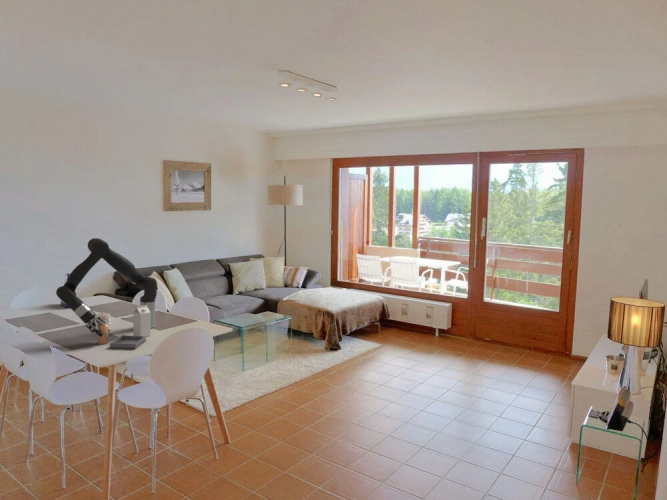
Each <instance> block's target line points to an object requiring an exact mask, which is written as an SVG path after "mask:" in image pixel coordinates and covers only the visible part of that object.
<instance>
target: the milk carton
mask: <svg viewBox="0 0 667 500" xmlns="http://www.w3.org/2000/svg"><path fill="white" fill-rule="evenodd" d="M132 313H133V314H132V315H133V318H132V322H133V325H132V328H133V329H132V331H133V332H132V333H133V334H132V336H146V338H147V337H151V328H150V321H151V312H150V310H149V309H148V307H147V305H143V306H140V305H138V306H136V309H135V310H133V312H132Z"/></svg>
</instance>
